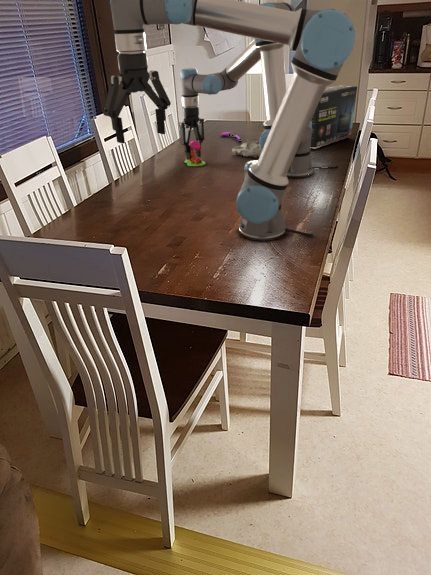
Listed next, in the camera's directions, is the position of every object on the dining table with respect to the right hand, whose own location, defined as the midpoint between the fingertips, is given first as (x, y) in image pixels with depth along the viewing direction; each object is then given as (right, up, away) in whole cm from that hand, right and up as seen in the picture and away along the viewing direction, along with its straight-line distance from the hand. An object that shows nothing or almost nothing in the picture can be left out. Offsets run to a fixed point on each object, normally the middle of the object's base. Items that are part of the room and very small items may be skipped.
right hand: (193, 157), depth 219 cm
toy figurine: (0, -2, +2) cm, 3 cm away
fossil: (+28, +5, +12) cm, 31 cm away
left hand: (-10, -20, -91) cm, 94 cm away
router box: (+69, +15, +26) cm, 75 cm away
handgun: (+20, +23, +42) cm, 52 cm away
